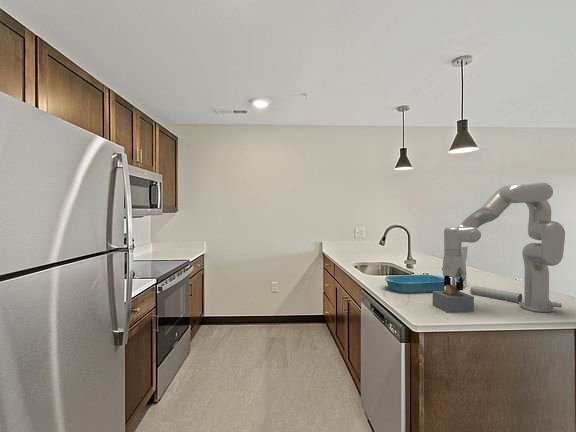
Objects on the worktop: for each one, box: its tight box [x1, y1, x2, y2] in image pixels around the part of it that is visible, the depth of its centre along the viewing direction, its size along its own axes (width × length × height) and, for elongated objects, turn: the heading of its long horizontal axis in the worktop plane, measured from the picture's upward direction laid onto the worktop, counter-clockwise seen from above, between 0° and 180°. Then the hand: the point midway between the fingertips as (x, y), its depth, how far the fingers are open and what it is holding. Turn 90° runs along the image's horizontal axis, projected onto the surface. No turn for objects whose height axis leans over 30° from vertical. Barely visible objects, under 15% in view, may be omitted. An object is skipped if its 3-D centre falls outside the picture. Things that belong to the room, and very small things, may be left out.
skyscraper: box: [451, 242, 468, 289], centre depth 210 cm, size 8×8×28 cm
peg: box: [445, 284, 461, 296], centre depth 163 cm, size 4×4×10 cm
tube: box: [469, 285, 523, 304], centre depth 182 cm, size 5×5×25 cm
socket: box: [432, 290, 475, 314], centre depth 163 cm, size 13×13×7 cm
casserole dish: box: [384, 274, 446, 294], centre depth 203 cm, size 37×22×7 cm, turn 98°
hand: (453, 288), depth 163 cm, fingers open, 9 cm apart
